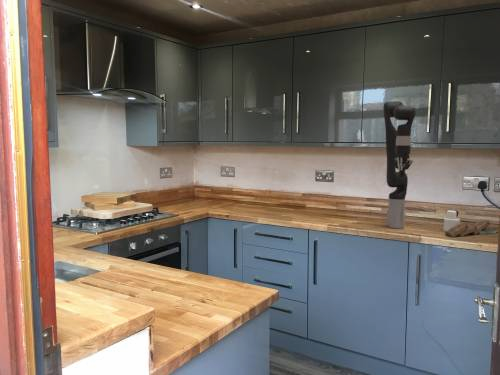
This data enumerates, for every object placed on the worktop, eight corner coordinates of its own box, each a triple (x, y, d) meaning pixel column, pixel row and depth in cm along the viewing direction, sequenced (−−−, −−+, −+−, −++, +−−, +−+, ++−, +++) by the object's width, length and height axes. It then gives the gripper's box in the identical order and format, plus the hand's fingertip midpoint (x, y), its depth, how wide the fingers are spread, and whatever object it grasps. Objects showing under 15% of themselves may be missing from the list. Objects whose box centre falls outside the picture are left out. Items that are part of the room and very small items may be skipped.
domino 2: (453, 230, 230) (468, 224, 234) (453, 234, 230) (469, 228, 235) (460, 232, 225) (476, 226, 230) (461, 236, 226) (476, 230, 230)
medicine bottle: (446, 228, 246) (447, 208, 244) (459, 230, 241) (460, 210, 240) (443, 230, 240) (444, 210, 239) (456, 232, 236) (457, 211, 234)
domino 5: (473, 229, 238) (491, 228, 240) (473, 233, 238) (491, 232, 240) (479, 231, 233) (498, 230, 235) (479, 235, 233) (498, 234, 235)
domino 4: (479, 226, 236) (493, 224, 241) (479, 229, 237) (493, 228, 241) (487, 227, 232) (501, 226, 237) (487, 231, 232) (501, 230, 237)
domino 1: (444, 232, 227) (459, 222, 232) (445, 235, 228) (460, 226, 232) (452, 233, 223) (467, 224, 227) (453, 237, 223) (468, 228, 228)
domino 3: (466, 229, 234) (480, 219, 238) (467, 233, 235) (481, 222, 239) (474, 231, 230) (488, 220, 233) (475, 234, 230) (489, 224, 234)
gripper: (418, 144, 215) (416, 178, 217) (400, 144, 228) (398, 176, 229) (406, 144, 213) (404, 178, 214) (389, 144, 225) (387, 176, 227)
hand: (401, 177), depth 222 cm, fingers closed
